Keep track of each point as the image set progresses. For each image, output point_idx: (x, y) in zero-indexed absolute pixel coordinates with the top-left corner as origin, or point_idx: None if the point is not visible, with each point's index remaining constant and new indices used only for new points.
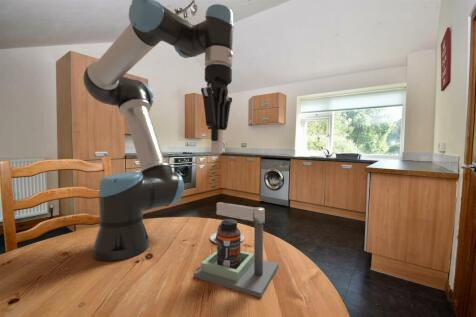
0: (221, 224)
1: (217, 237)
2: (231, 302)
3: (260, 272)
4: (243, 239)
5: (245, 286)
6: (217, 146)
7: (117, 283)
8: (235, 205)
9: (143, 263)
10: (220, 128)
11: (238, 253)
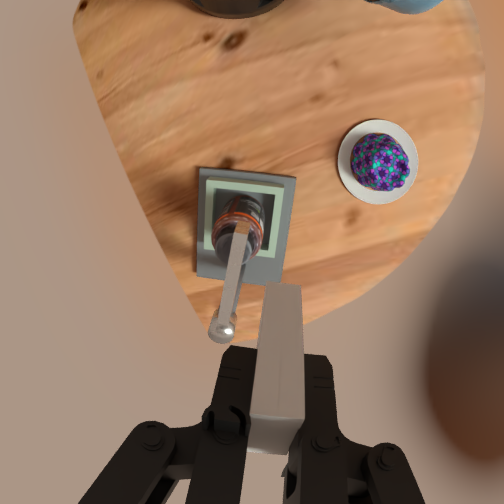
0: (221, 234)
1: (222, 215)
2: (175, 242)
3: None
4: (375, 203)
5: (200, 255)
6: (257, 345)
7: (143, 69)
8: (227, 286)
9: (205, 53)
10: (289, 458)
11: None
